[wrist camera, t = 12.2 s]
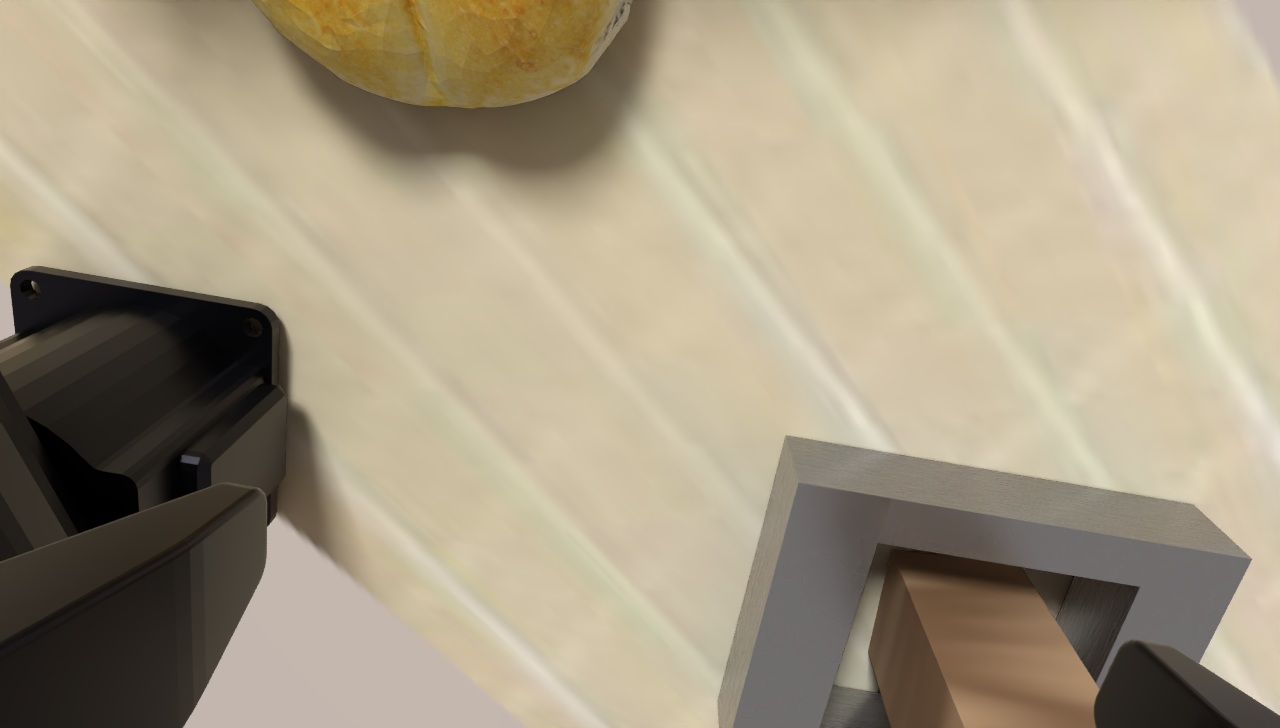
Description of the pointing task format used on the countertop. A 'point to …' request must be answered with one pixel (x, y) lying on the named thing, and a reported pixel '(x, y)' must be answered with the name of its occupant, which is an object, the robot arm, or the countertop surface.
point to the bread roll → (452, 45)
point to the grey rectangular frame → (966, 527)
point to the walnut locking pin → (973, 649)
